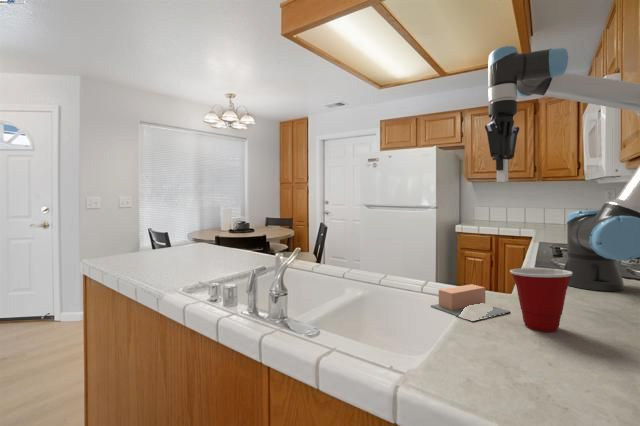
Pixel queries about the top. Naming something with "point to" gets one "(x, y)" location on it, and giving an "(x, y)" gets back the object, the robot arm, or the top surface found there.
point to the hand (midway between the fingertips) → (502, 181)
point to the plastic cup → (541, 296)
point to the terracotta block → (461, 296)
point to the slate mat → (458, 311)
